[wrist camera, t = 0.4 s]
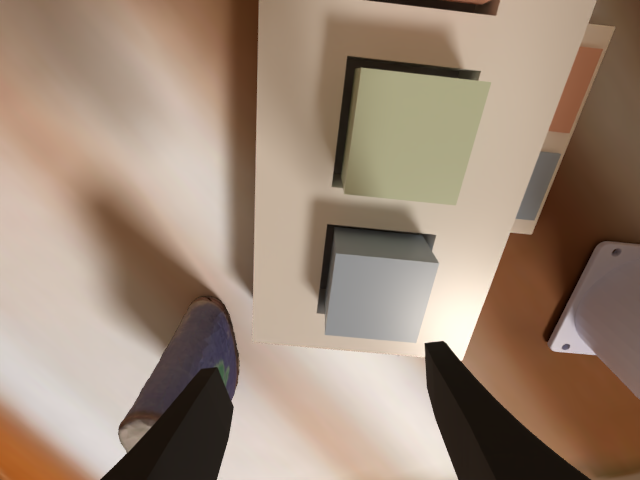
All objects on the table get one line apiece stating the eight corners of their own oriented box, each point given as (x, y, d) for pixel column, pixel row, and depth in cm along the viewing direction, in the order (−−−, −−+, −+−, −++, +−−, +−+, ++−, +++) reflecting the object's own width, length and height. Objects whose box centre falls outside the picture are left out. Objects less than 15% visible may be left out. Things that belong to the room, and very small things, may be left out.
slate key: (422, 235, 17) (439, 263, 15) (404, 307, 19) (416, 343, 16) (334, 226, 17) (335, 253, 14) (324, 300, 19) (324, 334, 16)
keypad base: (618, -212, 12) (709, -300, 9) (444, 323, 23) (462, 360, 20) (280, -260, 12) (266, -368, 9) (261, 307, 22) (252, 342, 19)
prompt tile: (608, 28, 15) (619, 26, 15) (527, 231, 20) (533, 236, 19) (552, 21, 15) (560, 19, 15) (483, 227, 20) (487, 231, 19)
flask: (187, 293, 22) (80, 467, 12) (233, 295, 22) (163, 469, 12) (203, 395, 26) (132, 587, 16) (242, 397, 26) (194, 589, 16)
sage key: (461, 80, 14) (491, 82, 12) (435, 184, 16) (456, 205, 13) (354, 68, 14) (361, 67, 11) (340, 175, 16) (344, 194, 13)
